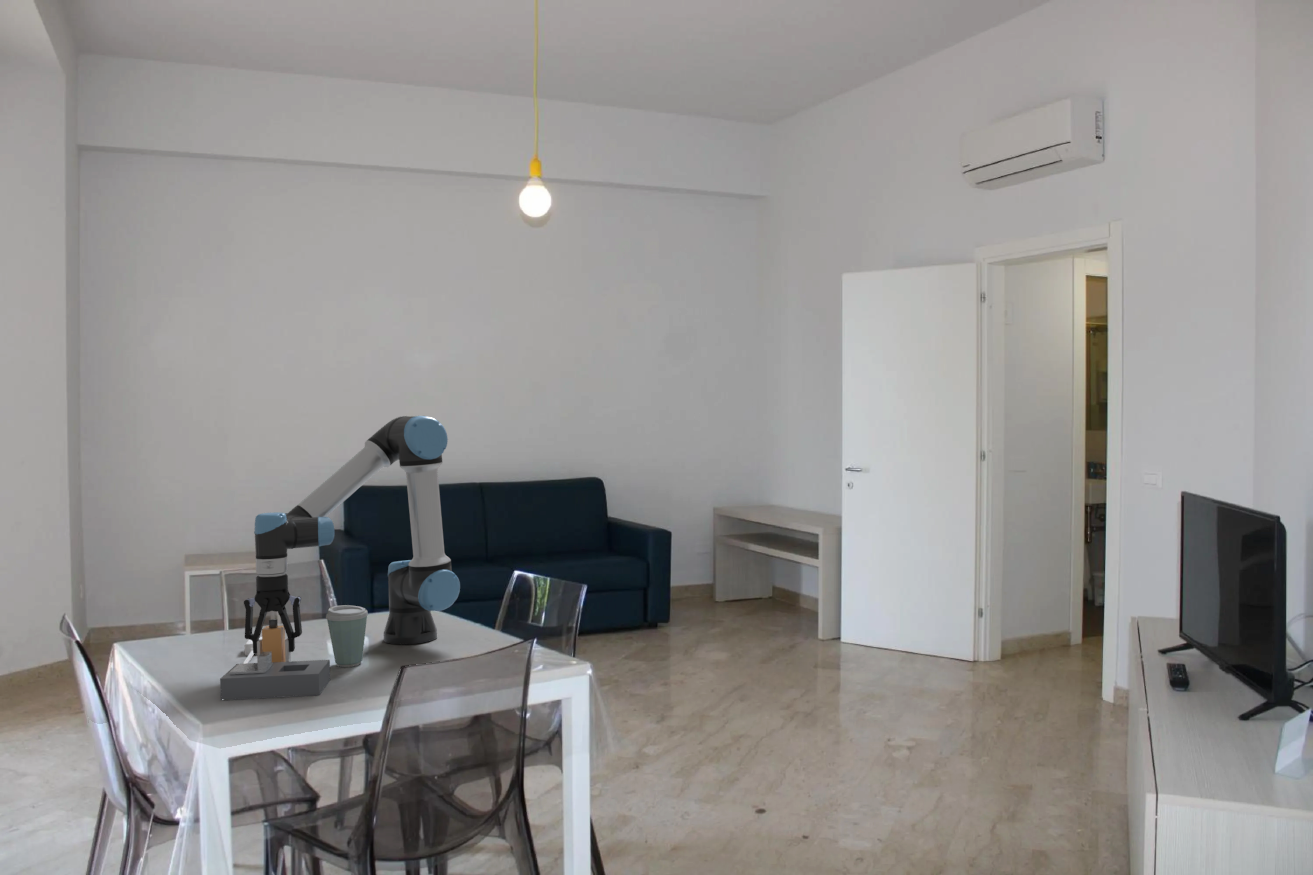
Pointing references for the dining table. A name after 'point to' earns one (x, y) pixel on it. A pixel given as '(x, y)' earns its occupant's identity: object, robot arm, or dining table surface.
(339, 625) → the disposable coffee cup
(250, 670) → the shutter
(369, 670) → the dining table surface
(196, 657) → the dining table surface
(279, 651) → the plug
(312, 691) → the socket box
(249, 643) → the charging cable
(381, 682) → the dining table surface
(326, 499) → the robot arm
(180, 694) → the dining table surface
